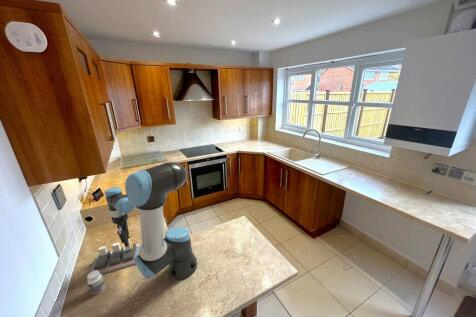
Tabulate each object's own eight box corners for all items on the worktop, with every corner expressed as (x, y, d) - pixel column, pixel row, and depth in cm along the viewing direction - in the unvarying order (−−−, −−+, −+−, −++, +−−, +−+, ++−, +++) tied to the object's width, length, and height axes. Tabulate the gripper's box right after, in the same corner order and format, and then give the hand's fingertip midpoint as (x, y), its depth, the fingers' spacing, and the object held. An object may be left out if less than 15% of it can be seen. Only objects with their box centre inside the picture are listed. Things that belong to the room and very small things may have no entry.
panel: (138, 263, 108) (135, 251, 106) (88, 278, 101) (83, 265, 98) (141, 245, 123) (139, 234, 120) (98, 256, 115) (94, 245, 113)
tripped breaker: (132, 249, 114) (130, 243, 112) (126, 250, 113) (124, 244, 111) (133, 246, 116) (131, 240, 114) (127, 248, 115) (125, 242, 113)
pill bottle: (90, 290, 94) (84, 274, 91) (104, 282, 98) (98, 267, 95) (92, 297, 90) (86, 281, 87) (106, 289, 94) (101, 273, 91)
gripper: (124, 218, 101) (134, 255, 107) (128, 207, 112) (137, 240, 119) (108, 222, 98) (118, 259, 105) (114, 210, 110) (123, 243, 117)
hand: (128, 249), depth 112 cm, fingers closed
